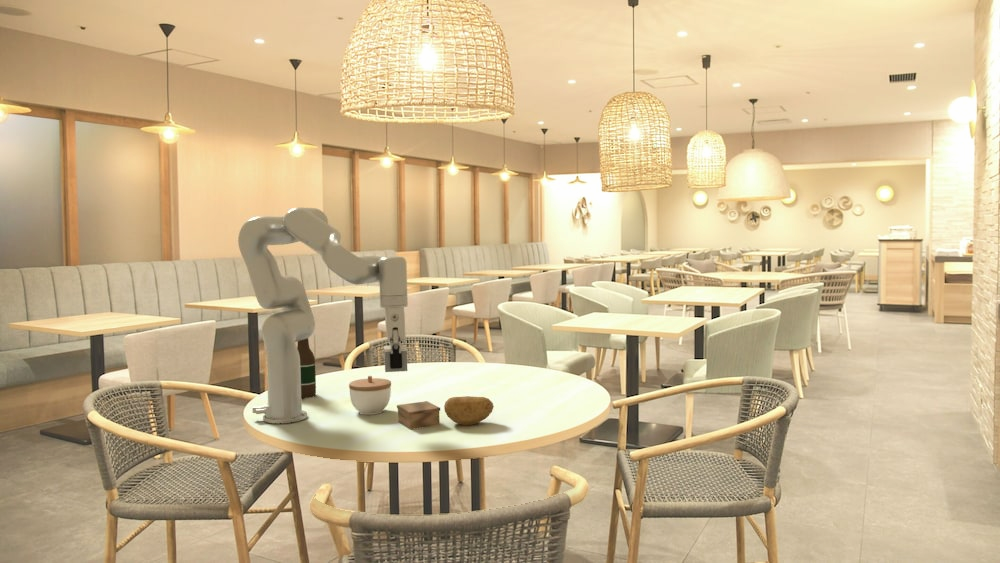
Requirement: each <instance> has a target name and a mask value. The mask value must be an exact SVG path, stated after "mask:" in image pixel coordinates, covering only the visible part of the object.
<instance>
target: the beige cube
mask: <svg viewBox="0 0 1000 563" xmlns="http://www.w3.org/2000/svg"><path fill="white" fill-rule="evenodd" d="M383 352H384V371H385V373H393V372H394V373H395V372H397V373H398V372H408V347H407V344H401V353H402V368H395V369H391V368H390V354H391V346H390V345H383Z"/></svg>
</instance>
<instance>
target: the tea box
mask: <svg viewBox="0 0 1000 563" xmlns="http://www.w3.org/2000/svg"><path fill="white" fill-rule="evenodd" d="M396 408H397V423H399V424H400V425H401V426H404V427H405V428H407V429H408V430H415V429H422V428H423V429H424V428H429V427H437V426H440V411H441V407H439V406H437V405H436V404H433V403H431V402H429V401H427V400H426V401H418V402H413V403H404V404H397V405H396Z"/></svg>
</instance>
